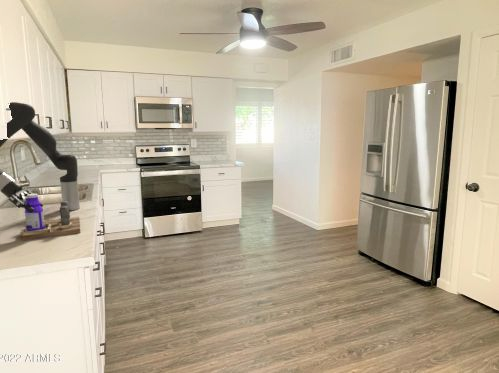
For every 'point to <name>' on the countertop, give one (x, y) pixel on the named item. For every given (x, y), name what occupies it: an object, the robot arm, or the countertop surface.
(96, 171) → the countertop surface
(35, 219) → the bottle
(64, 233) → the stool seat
